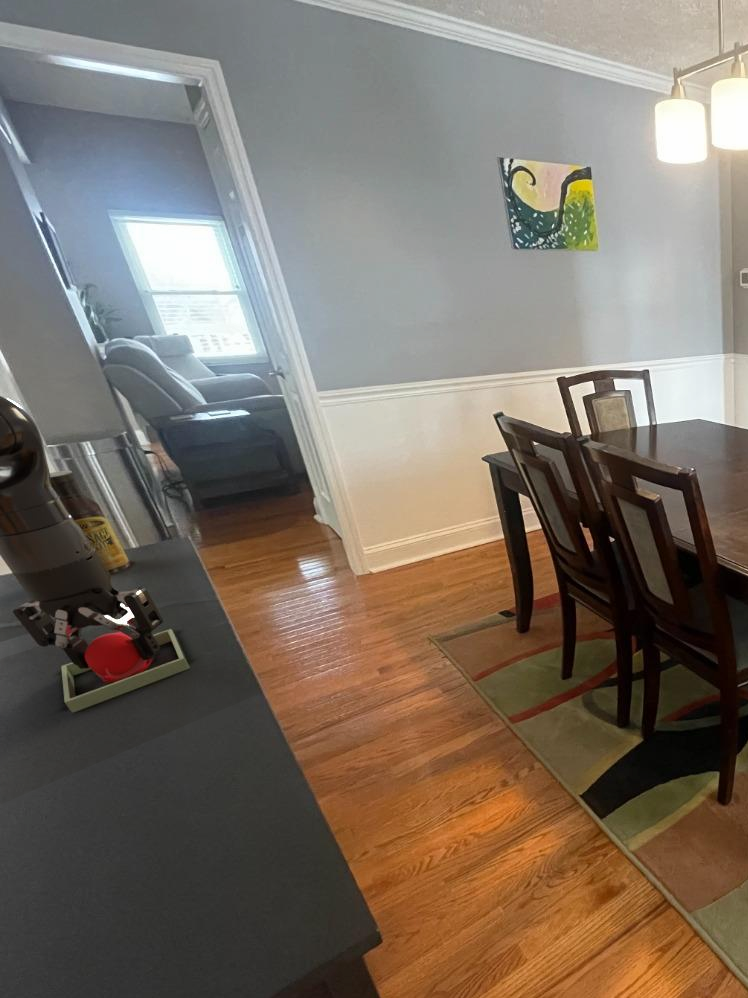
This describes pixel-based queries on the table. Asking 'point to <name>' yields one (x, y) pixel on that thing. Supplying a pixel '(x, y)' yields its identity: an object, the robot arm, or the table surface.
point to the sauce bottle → (90, 521)
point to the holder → (125, 684)
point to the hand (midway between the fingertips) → (121, 660)
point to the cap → (114, 657)
